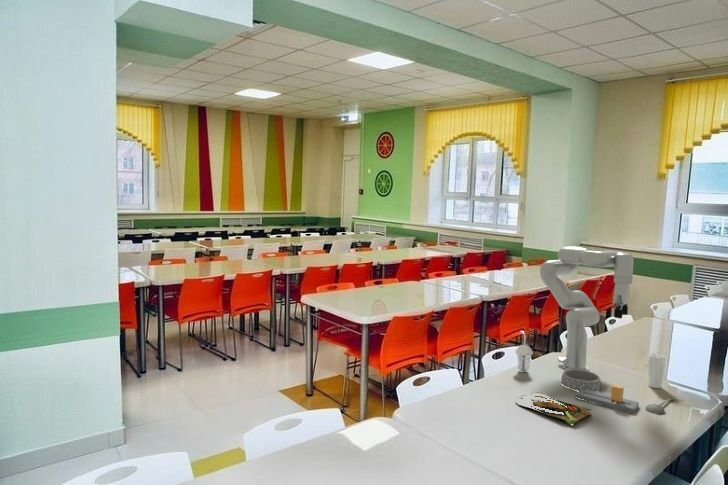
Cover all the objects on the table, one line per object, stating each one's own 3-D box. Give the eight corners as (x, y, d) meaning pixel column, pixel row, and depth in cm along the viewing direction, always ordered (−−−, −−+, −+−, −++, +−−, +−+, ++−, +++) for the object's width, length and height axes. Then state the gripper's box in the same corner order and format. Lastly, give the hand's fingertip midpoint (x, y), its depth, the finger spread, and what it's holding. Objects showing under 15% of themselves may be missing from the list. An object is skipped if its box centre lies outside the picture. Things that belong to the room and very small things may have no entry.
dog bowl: (600, 382, 239) (601, 371, 239) (600, 396, 223) (601, 384, 222) (562, 376, 247) (563, 366, 246) (559, 389, 230) (560, 378, 230)
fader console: (575, 398, 219) (575, 393, 219) (582, 392, 226) (582, 387, 226) (633, 413, 204) (633, 408, 204) (638, 406, 211) (638, 401, 211)
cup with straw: (513, 373, 250) (515, 334, 248) (515, 367, 258) (516, 329, 256) (531, 375, 247) (533, 336, 245) (532, 369, 255) (534, 331, 253)
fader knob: (610, 399, 213) (611, 386, 212) (612, 397, 215) (613, 384, 214) (621, 402, 210) (621, 388, 209) (622, 400, 212) (623, 386, 212)
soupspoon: (642, 413, 208) (659, 419, 203) (643, 405, 207) (660, 411, 202) (664, 398, 221) (680, 403, 216) (665, 391, 221) (681, 396, 216)
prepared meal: (511, 396, 213) (536, 386, 224) (511, 403, 214) (536, 393, 224) (572, 422, 191) (597, 410, 201) (571, 431, 191) (596, 418, 202)
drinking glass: (665, 389, 230) (667, 358, 229) (649, 388, 231) (651, 357, 230) (659, 384, 237) (662, 353, 235) (644, 383, 238) (646, 352, 237)
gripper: (619, 276, 240) (617, 311, 241) (609, 281, 226) (607, 318, 228) (636, 278, 235) (634, 314, 236) (627, 283, 222) (625, 320, 223)
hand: (620, 316), depth 232 cm, fingers open, 9 cm apart
